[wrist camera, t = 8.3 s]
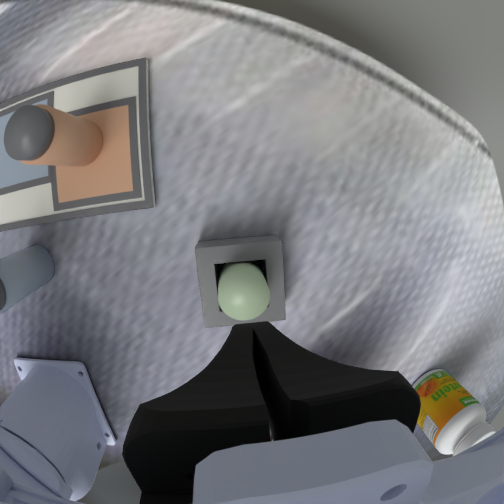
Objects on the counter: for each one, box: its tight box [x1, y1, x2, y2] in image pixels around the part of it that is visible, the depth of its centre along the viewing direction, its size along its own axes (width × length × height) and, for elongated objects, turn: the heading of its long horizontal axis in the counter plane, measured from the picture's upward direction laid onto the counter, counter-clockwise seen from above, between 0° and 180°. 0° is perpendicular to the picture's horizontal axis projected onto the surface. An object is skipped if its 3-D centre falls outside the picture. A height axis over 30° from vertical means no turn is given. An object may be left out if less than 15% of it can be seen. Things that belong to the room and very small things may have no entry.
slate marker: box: [0, 245, 54, 314], centre depth 16 cm, size 3×3×7 cm
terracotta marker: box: [4, 104, 103, 167], centre depth 14 cm, size 3×3×7 cm
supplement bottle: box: [412, 369, 496, 456], centre depth 20 cm, size 5×5×10 cm
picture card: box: [0, 58, 156, 232], centre depth 17 cm, size 10×14×1 cm
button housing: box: [195, 235, 286, 328], centre depth 19 cm, size 5×5×2 cm
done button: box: [218, 260, 270, 321], centre depth 18 cm, size 3×3×3 cm
